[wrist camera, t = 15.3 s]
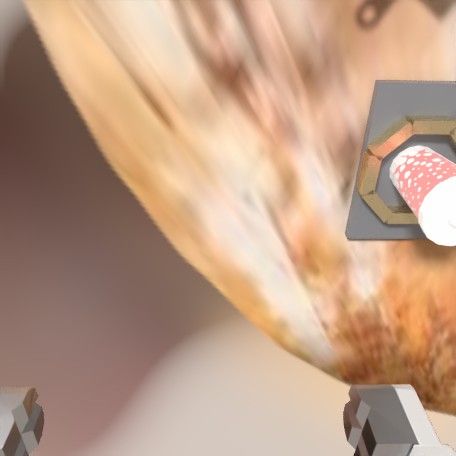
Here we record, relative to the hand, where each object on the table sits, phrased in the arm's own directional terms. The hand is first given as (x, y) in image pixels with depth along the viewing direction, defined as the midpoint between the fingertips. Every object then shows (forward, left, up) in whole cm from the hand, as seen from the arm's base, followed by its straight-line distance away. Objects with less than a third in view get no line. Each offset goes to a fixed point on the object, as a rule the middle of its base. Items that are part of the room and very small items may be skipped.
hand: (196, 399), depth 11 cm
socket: (+6, +20, -30) cm, 36 cm away
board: (+6, +20, -31) cm, 37 cm away
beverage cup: (+6, +20, -30) cm, 36 cm away
